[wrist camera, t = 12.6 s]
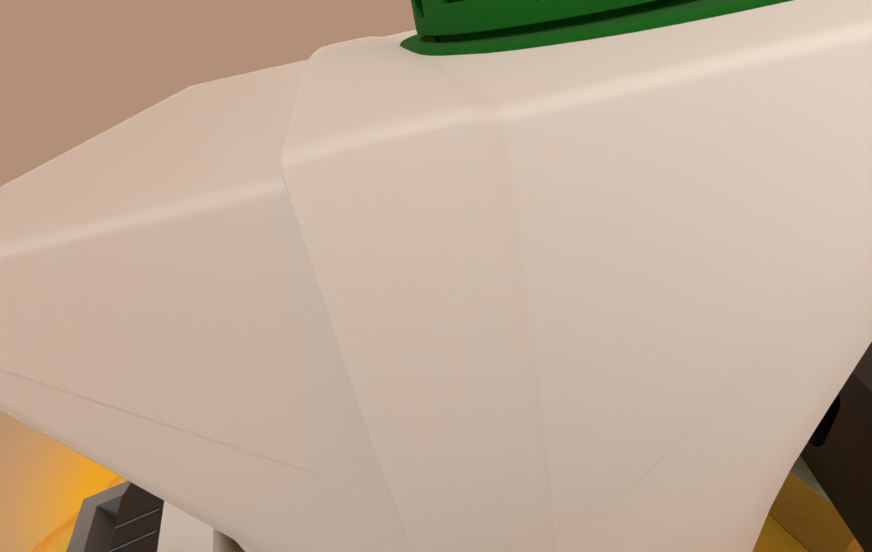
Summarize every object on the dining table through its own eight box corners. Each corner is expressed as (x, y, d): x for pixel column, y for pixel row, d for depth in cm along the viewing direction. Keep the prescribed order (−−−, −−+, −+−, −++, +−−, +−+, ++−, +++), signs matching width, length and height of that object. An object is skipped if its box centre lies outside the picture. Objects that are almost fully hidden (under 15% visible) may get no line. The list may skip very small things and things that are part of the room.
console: (833, 571, 21) (860, 526, 19) (718, 469, 26) (730, 424, 24) (918, 512, 22) (953, 463, 20) (794, 426, 27) (812, 379, 25)
